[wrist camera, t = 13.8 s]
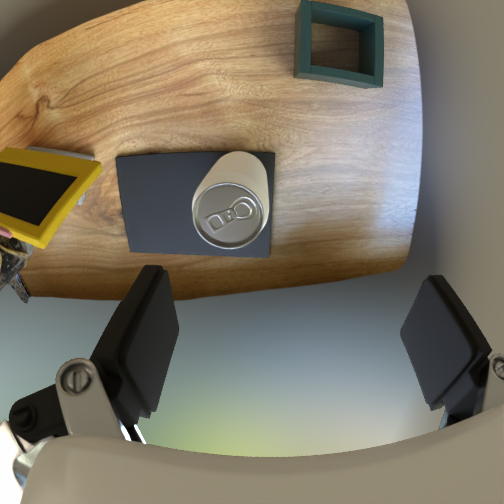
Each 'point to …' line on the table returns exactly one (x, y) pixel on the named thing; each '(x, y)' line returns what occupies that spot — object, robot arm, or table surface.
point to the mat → (177, 203)
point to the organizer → (344, 18)
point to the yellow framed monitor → (41, 190)
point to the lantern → (12, 257)
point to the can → (232, 201)
